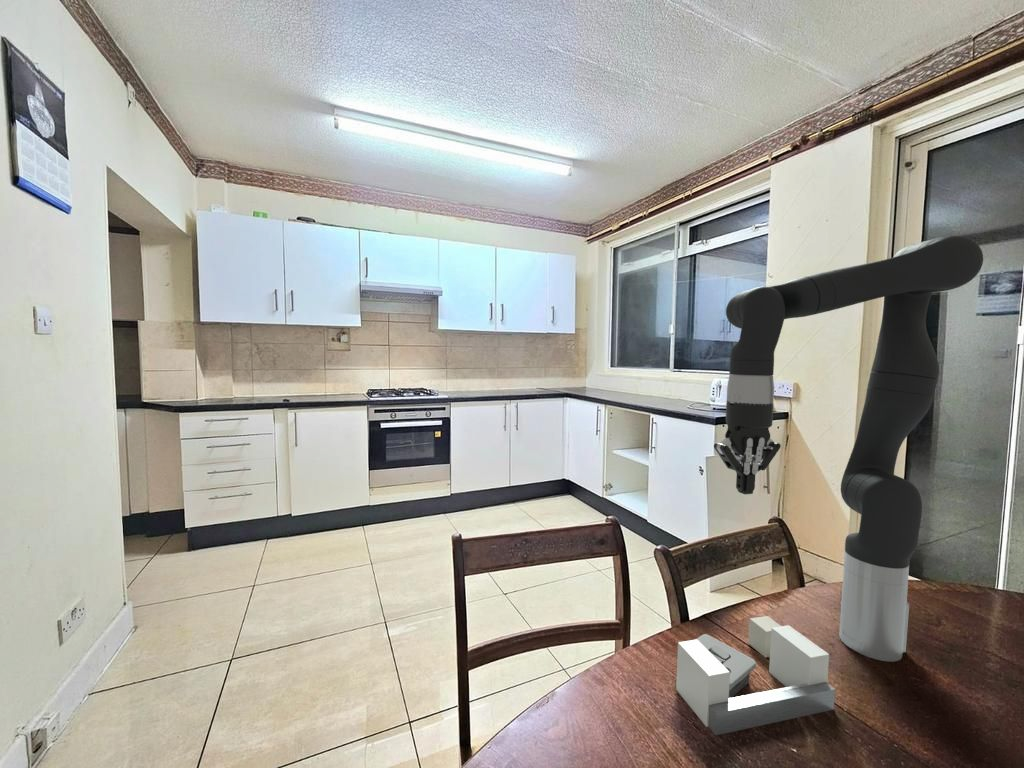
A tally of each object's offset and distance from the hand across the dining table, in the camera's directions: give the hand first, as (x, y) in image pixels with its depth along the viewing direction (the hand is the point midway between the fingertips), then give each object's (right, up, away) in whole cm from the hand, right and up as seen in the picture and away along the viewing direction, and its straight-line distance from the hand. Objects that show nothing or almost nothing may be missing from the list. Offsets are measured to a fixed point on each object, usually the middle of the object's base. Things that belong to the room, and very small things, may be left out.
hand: (744, 492), depth 81 cm
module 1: (-14, -30, -13) cm, 35 cm away
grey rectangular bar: (-4, -30, -15) cm, 34 cm away
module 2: (+4, -30, -9) cm, 31 cm away
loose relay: (+4, -29, 0) cm, 29 cm away
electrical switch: (-6, -30, -10) cm, 32 cm away
